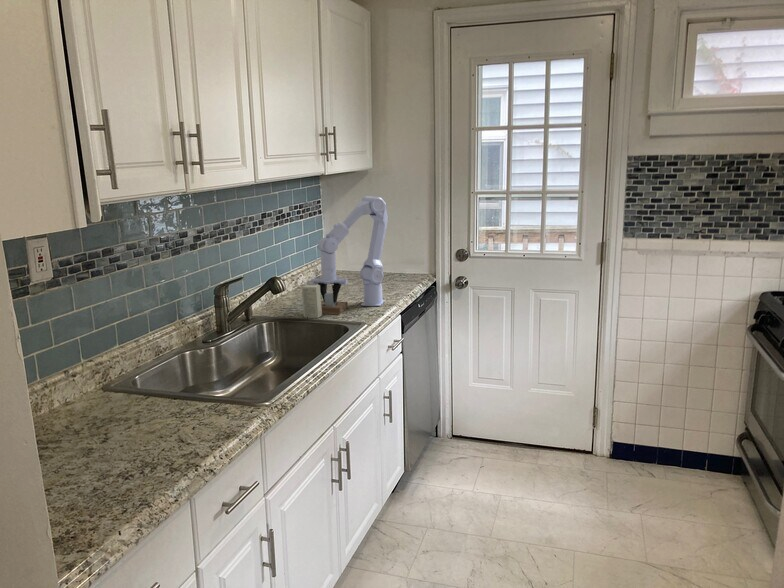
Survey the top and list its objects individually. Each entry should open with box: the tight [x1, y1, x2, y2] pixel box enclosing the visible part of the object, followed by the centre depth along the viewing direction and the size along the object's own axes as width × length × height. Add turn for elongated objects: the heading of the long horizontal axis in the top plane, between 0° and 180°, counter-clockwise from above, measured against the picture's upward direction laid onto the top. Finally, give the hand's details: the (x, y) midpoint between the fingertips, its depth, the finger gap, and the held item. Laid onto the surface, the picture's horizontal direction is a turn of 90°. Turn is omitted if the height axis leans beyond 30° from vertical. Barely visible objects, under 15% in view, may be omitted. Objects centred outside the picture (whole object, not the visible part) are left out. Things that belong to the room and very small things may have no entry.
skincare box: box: [300, 284, 323, 319], centre depth 247 cm, size 6×4×12 cm
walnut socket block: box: [321, 300, 349, 315], centre depth 257 cm, size 11×11×2 cm
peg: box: [324, 292, 336, 306], centre depth 256 cm, size 4×4×6 cm
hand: (330, 301), depth 256 cm, fingers closed on peg, 3 cm apart
